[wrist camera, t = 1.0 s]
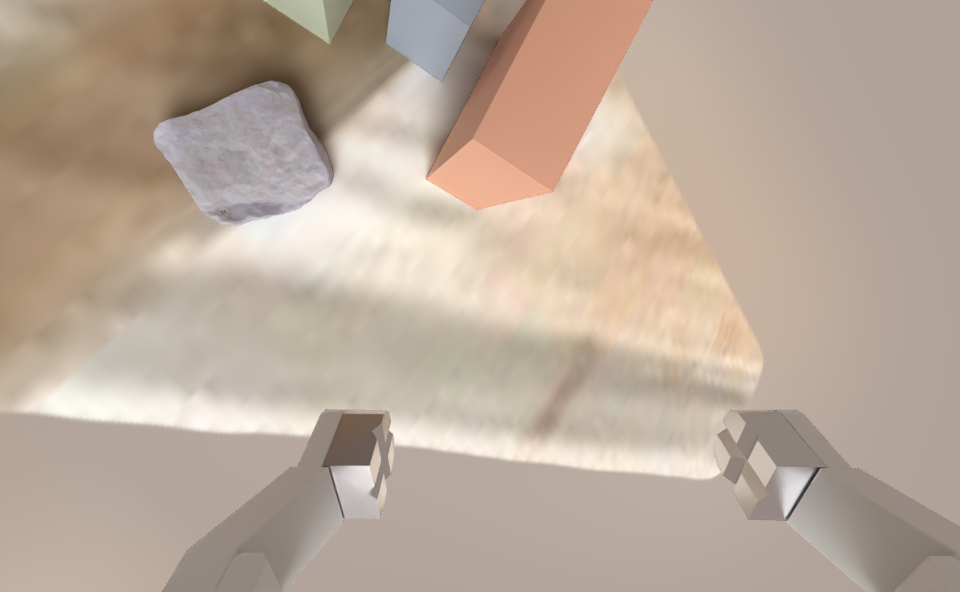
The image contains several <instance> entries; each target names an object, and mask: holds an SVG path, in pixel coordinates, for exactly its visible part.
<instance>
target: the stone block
mask: <svg viewBox="0 0 960 592" xmlns="http://www.w3.org/2000/svg"><path fill="white" fill-rule="evenodd" d="M154 143H155V145H156V146H157V148H158V149H159V150H160V151H162V153H163V154H164V156H165V158H166V159H167V160H168V161H169V162H170V163H171V165H172V166H173V167H174V169H175V171H176V172H177V174H178V175H179V177H180V179H181V180H182V182H183V183H184V185H185V187H186V189H187V190H188V192H189V193H190V194H191V196H192V197H193V199H194V201H195V202H196V204H197V206H198V207H199V209H200V210H201V211H202V212H203V213H204V214H205V215H206V216H208V217H209V218H213V219H214V220H215V221H216V222H217V223H218V224H221V225H229V226H232V225H234V226H235V225H241V224H244V223H247V222H249V221H253V220H257V219H265V218H269V217H271V216H275V215H280V214H284V213H287V212H291V211H294V210H297V209H299V208H301V207H302V206H303V205H304V204H306V203H308V202H309V201H311V199H312V198H313V197H314V196H315V195H316V194H317V193H318V192H320V191H322V190H323V189H325V188H327V187H329V186H330V185H331V184H332V181H333V170H332V167H331V164H330V162H329V158H328V154H327V152H326V149H325V147H324V146H323V145H322V143H321V142H320V141H319V140H318V138H317V136H316V134H315V133H313V132H312V131H311V129H310V128H309V126H308V123H307V120H306V118H305V117H304V114H303V110H302V108H301V105H300V101H299V100H298V98H297V96H296V94H295V92H294V91H293V90H292V89H291V88H290V87H289V86H288V85H287V84H283V83H281V82H280V81H277V82H276V81H271V80H270V81H268V82H264V83H261V84H257V85H253V86H250V87H248V88H246V89H243V90H241V91H239V92H236V93H234V94H232V95H229V96H227V97H225V98H223V99H221V100H220V101H218V102H216V103H214V104H212V105H210V106H208V107H206V108H204V109H201V110H199V111H195V112H192V113H190V114H188V115H184V116H179V117H174V118H170V119H168V120H165V121H163V122H161V123H159V124H158V126H157V127H156V128H155V130H154Z"/></svg>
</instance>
